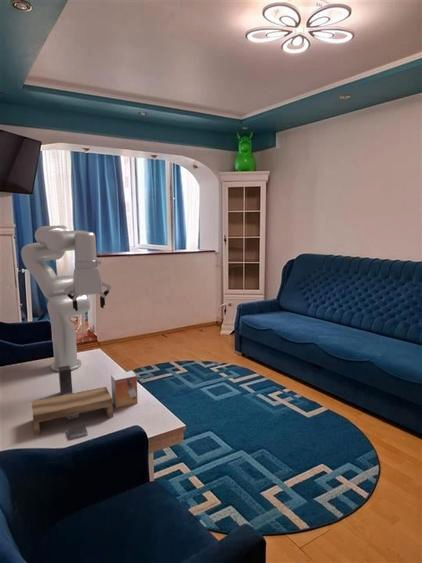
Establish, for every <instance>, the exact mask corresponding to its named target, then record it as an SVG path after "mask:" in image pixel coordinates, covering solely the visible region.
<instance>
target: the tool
mask: <svg viewBox="0 0 422 563" xmlns="http://www.w3.org/2000/svg"><path fill="white" fill-rule="evenodd" d="M58 371H59V372H58ZM58 371H57V372H58V380H59V381H58V382H59V392H60V396H62V395H67V394H72V393H74V391H73V382H72V370H71V368H70V366H63V367H58ZM79 417H80V413H78V414H73V415H69V416H66V418H67V420H68V421H69V420H72V419H77V418H79Z"/></svg>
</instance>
